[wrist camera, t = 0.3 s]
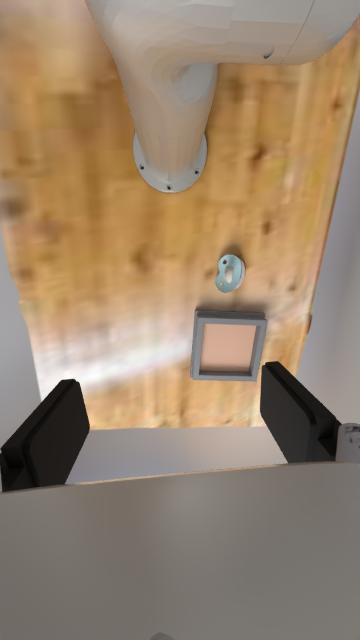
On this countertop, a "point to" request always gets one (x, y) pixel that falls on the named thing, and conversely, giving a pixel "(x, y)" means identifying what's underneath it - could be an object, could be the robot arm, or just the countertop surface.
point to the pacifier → (230, 273)
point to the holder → (227, 345)
